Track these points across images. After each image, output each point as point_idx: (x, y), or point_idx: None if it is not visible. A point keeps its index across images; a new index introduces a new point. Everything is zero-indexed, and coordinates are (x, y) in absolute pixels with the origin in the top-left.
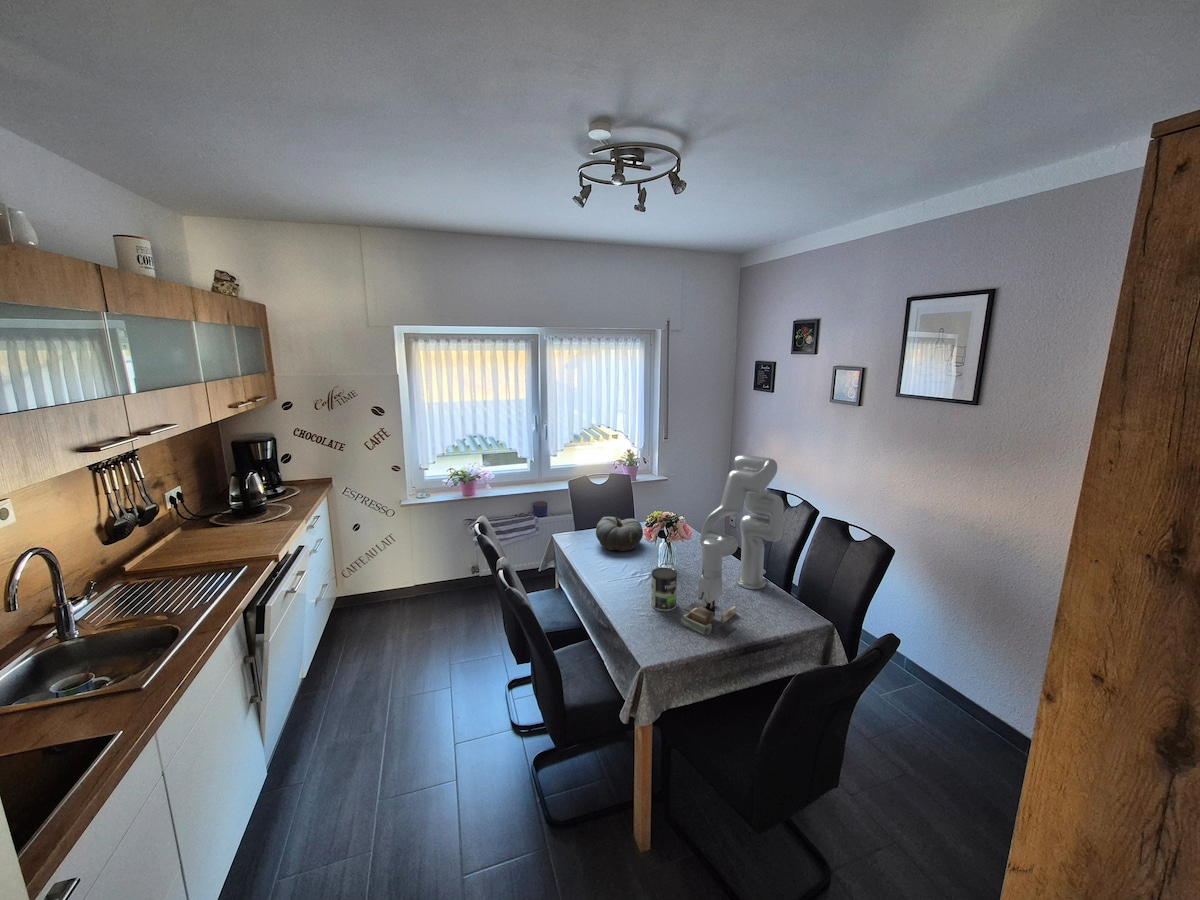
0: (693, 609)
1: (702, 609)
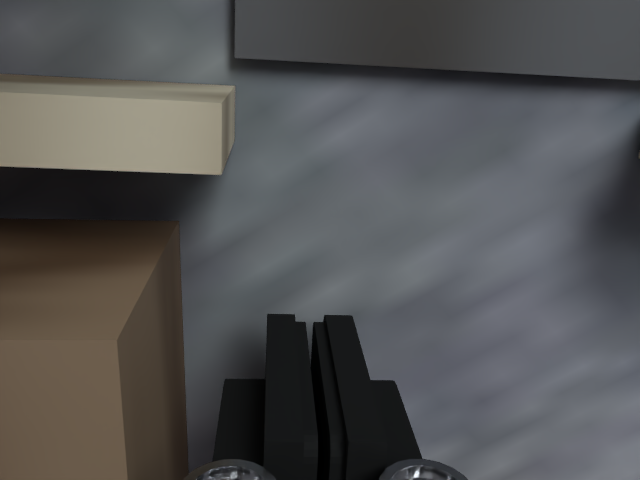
0: (73, 112)
1: (17, 474)
